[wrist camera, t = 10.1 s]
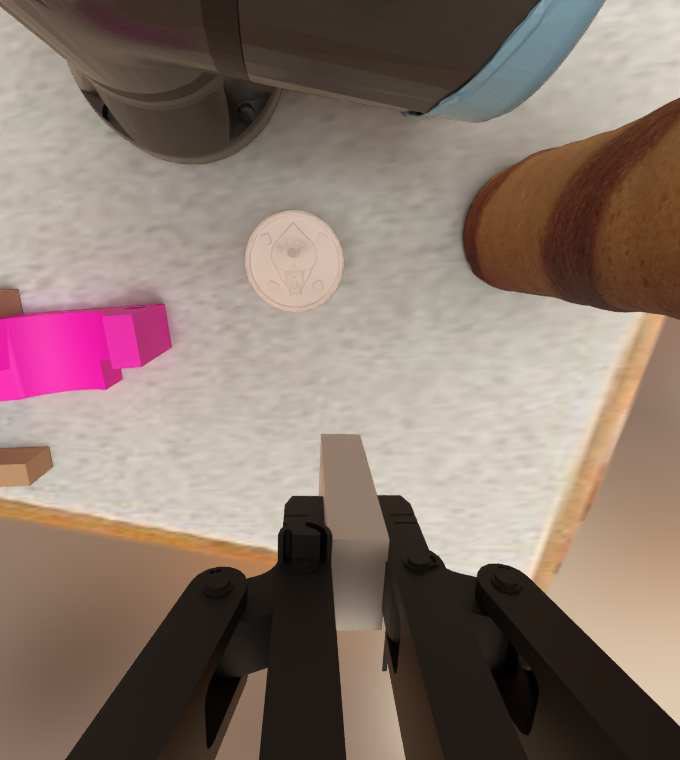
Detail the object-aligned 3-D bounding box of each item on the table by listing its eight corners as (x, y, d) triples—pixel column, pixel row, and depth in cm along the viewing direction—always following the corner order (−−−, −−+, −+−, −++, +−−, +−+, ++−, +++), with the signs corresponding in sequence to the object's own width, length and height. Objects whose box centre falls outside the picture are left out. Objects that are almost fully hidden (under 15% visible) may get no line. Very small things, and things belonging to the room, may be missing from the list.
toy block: (2, 387, 39) (-67, 417, 32) (-17, 316, 37) (-96, 330, 30) (176, 374, 40) (147, 400, 32) (165, 303, 38) (131, 314, 31)
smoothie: (335, 221, 37) (351, 200, 23) (336, 299, 39) (351, 321, 25) (257, 221, 37) (228, 199, 23) (261, 300, 38) (236, 323, 25)
